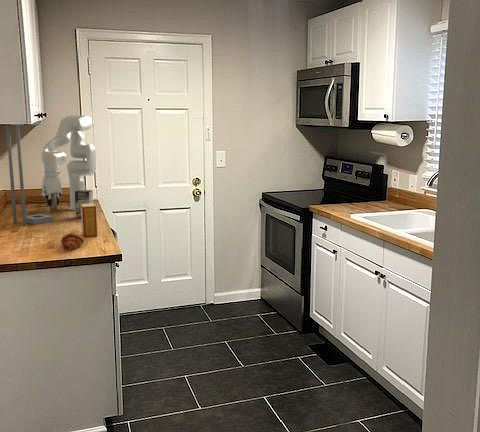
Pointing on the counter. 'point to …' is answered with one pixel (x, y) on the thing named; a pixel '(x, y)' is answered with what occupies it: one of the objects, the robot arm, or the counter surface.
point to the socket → (39, 219)
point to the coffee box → (82, 199)
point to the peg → (53, 202)
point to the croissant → (71, 241)
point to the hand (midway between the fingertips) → (53, 205)
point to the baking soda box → (88, 220)
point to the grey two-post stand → (19, 172)
